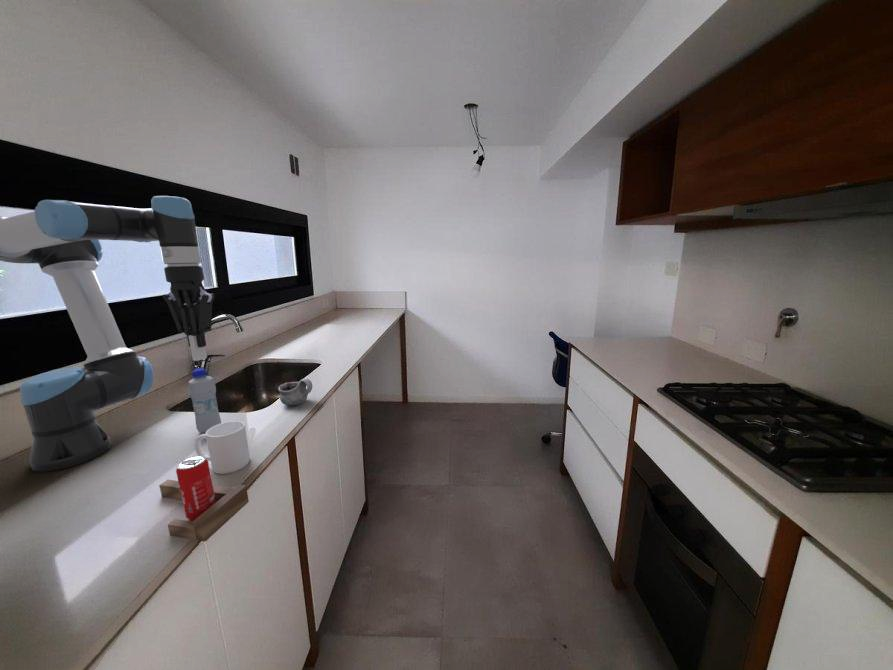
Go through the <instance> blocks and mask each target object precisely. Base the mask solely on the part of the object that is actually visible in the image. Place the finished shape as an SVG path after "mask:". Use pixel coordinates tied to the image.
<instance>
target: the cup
mask: <svg viewBox="0 0 893 670" xmlns="http://www.w3.org/2000/svg"><path fill="white" fill-rule="evenodd" d="M202 440H206V443H207V448H208V453H209V455H207V454H205V453H203V451H202V448H201V447H202V446H201V442H202ZM194 449H195V452H196V456H204V457H205V458H206V460H207V461H208V462H210V464H211V469H212V471H213V472H214V473H216V474H219V475H223V474H224V475H225V474H227V475H228V474H231V473H235V472H236V471H237V472H238V471H240V470H241V469H243V468H245V467H246V466H247V465H248V464H249V462H250V457H251V456H250V451H249V445H248V438H247V430H246V424H245V423H244V422H243V421H242V420H241V421H240V420H233V421H232V420H231V421H225V422H221V424H218V425H215V426H213V427H211V428H210V429H208V430H207V431H206V433H205V434H202V435H201V434H200V435H198V436H197V437H196V439H195V442H194Z"/></svg>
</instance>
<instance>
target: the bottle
mask: <svg viewBox="0 0 893 670" xmlns="http://www.w3.org/2000/svg"><path fill="white" fill-rule="evenodd" d="M216 388H217V386H216V384H215V381H214V379H213V377H212V376H210V375H208V374H207V370H206V369H205V368H196V369H194V370H193V371H192V379H190V380H189V381H188V394H189V397H190V398H191V401H192V402H191V403H192V407H193V413H194V416H195V417H194V418H195V426H196V430H197V431H198V433H199V434H200V435H202V434H206V431H207V430H208V429H210V428H211V427H213V426H215V425H218V424H221V423H222V419H221V415H220V412H219V408H218V401H217V400H218V399H217V396H216V393H217V389H216Z"/></svg>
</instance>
